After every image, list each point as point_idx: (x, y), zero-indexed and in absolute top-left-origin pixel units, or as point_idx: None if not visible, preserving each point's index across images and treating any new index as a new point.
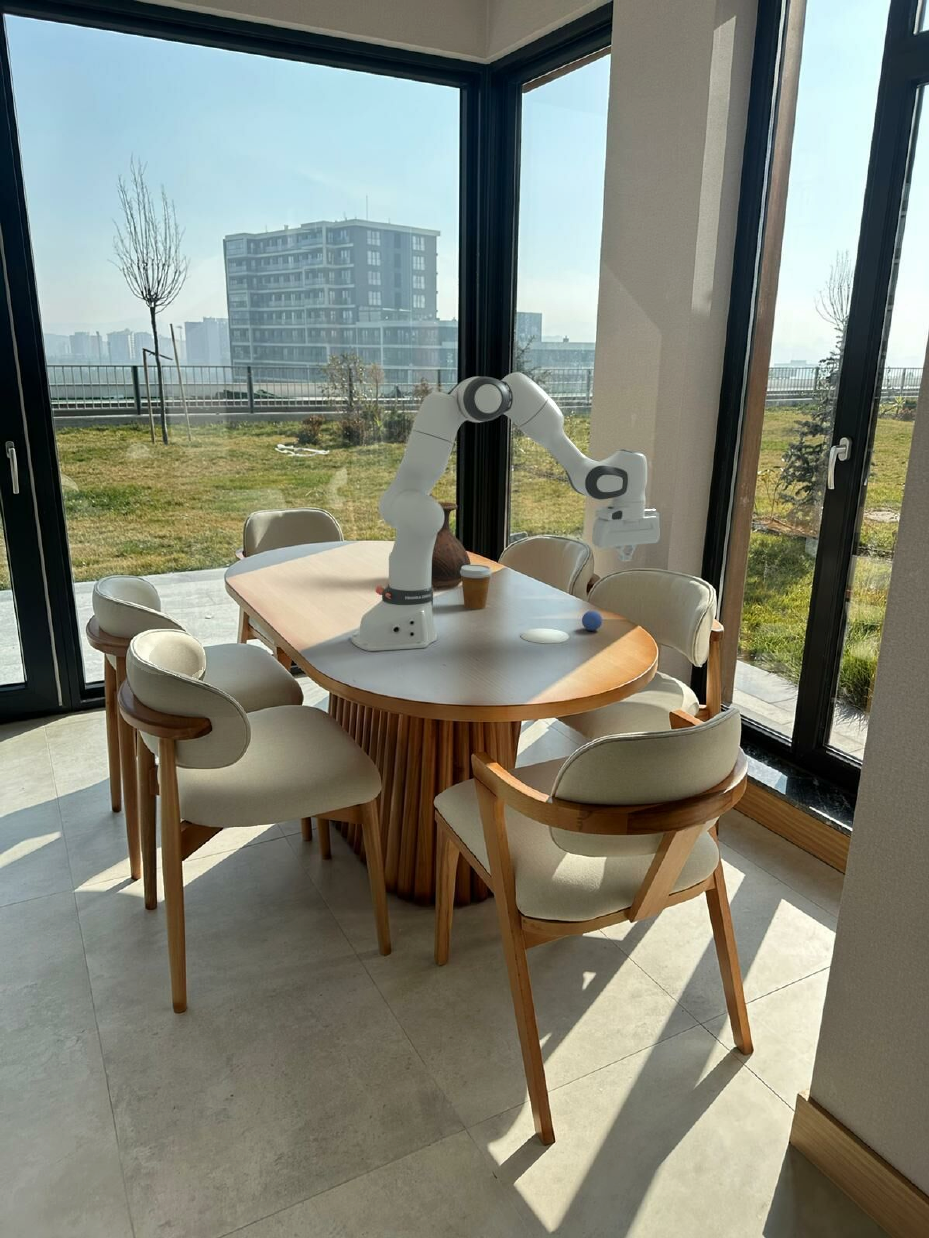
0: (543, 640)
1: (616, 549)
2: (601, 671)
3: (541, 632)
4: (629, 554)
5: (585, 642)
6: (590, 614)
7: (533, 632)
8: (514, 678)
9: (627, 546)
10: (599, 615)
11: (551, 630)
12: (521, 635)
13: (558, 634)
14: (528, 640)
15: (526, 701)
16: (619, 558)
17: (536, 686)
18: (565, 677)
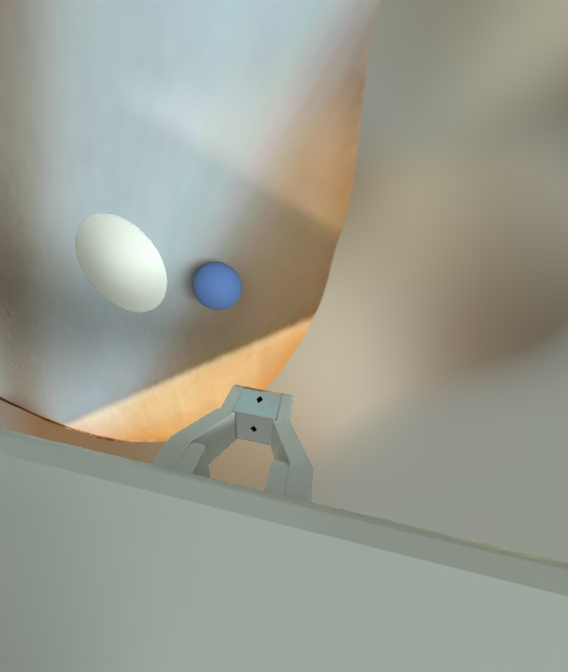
0: (113, 292)
1: (180, 431)
2: (156, 413)
3: (119, 247)
4: (271, 445)
5: (182, 331)
6: (199, 299)
7: (103, 239)
8: (57, 382)
9: (270, 470)
10: (221, 307)
11: (143, 244)
12: (77, 245)
13: (149, 276)
14: (87, 277)
15: (66, 422)
16: (230, 395)
17: (78, 406)
18: (112, 405)
